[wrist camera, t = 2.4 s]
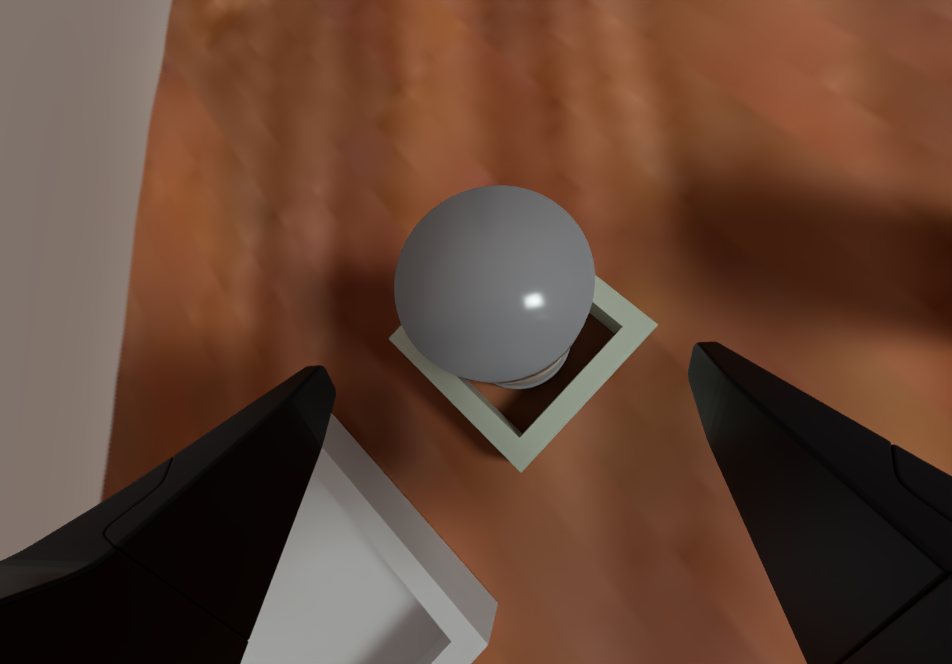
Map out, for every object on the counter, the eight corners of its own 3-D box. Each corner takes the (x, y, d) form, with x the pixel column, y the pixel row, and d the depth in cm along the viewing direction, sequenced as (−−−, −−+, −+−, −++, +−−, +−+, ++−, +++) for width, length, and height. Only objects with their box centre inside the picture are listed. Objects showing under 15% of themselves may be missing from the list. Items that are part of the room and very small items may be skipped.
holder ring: (646, 332, 18) (658, 324, 16) (523, 464, 18) (520, 472, 16) (513, 225, 20) (510, 207, 18) (403, 344, 20) (388, 338, 18)
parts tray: (497, 603, 17) (488, 645, 14) (302, 813, 17) (253, 897, 14) (321, 400, 20) (283, 401, 18) (155, 579, 21) (90, 609, 18)
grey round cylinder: (591, 335, 19) (641, 267, 9) (521, 411, 19) (494, 426, 9) (515, 270, 20) (485, 149, 10) (449, 342, 20) (356, 289, 10)
